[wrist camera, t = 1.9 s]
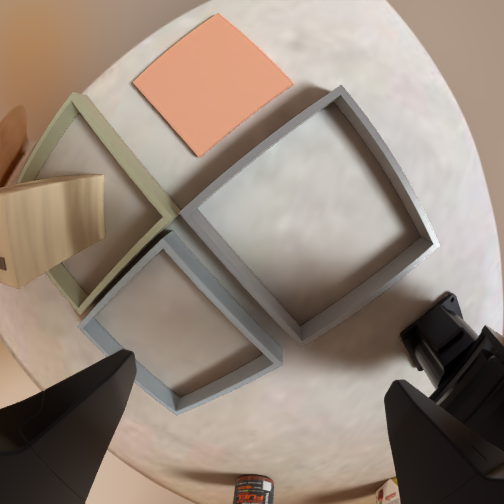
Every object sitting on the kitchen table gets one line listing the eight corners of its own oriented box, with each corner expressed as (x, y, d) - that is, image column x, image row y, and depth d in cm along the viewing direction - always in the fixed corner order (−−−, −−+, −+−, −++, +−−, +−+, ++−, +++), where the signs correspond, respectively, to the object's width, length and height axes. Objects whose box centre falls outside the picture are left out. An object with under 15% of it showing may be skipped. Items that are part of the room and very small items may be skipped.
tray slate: (282, 349, 22) (282, 364, 20) (180, 401, 25) (176, 415, 23) (172, 230, 19) (162, 238, 17) (87, 315, 22) (77, 326, 21)
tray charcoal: (427, 238, 18) (440, 245, 16) (298, 333, 21) (300, 348, 20) (333, 92, 16) (341, 84, 14) (187, 207, 19) (178, 212, 17)
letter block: (104, 174, 18) (4, 195, 9) (105, 237, 20) (17, 289, 10) (60, 176, 18) (-33, 196, 9) (62, 232, 20) (-22, 274, 10)
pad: (292, 85, 16) (293, 83, 15) (200, 157, 18) (198, 157, 17) (219, 15, 14) (218, 13, 13) (135, 83, 16) (132, 82, 15)
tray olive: (182, 212, 19) (173, 217, 17) (91, 304, 22) (80, 315, 20) (87, 95, 16) (72, 91, 14) (18, 203, 19) (5, 207, 17)
